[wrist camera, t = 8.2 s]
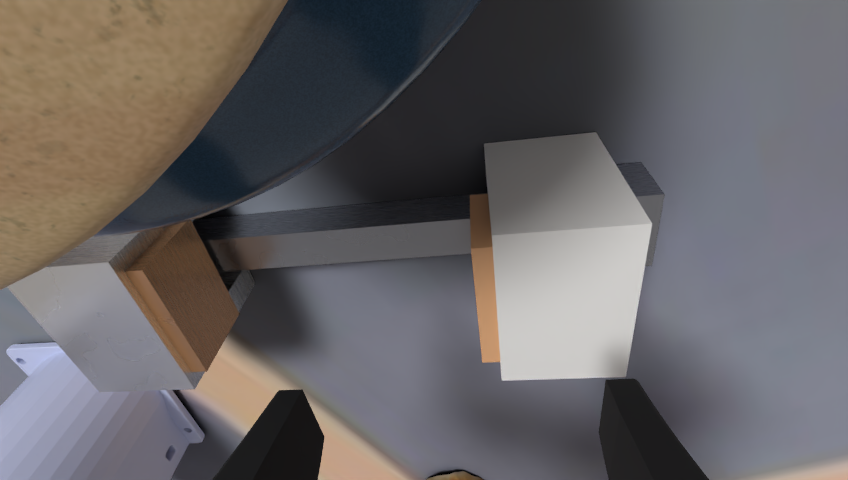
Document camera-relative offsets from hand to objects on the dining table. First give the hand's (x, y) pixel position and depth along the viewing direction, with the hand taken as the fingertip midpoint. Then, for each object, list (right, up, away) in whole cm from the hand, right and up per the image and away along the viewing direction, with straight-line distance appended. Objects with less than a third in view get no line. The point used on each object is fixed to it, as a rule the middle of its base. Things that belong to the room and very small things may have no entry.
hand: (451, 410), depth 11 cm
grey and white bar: (-3, +5, +8) cm, 10 cm away
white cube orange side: (+4, +5, +7) cm, 10 cm away
